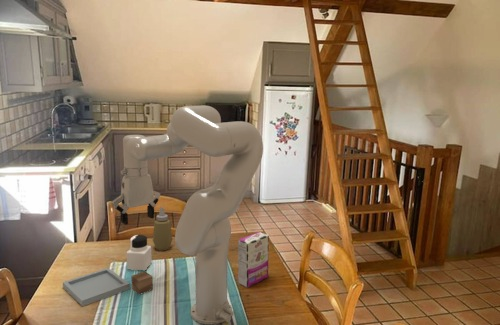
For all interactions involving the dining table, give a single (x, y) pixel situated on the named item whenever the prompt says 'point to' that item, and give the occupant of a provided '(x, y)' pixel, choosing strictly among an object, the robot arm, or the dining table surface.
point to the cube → (142, 282)
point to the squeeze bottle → (162, 231)
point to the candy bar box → (253, 259)
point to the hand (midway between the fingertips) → (138, 220)
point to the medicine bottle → (139, 253)
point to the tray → (95, 286)
